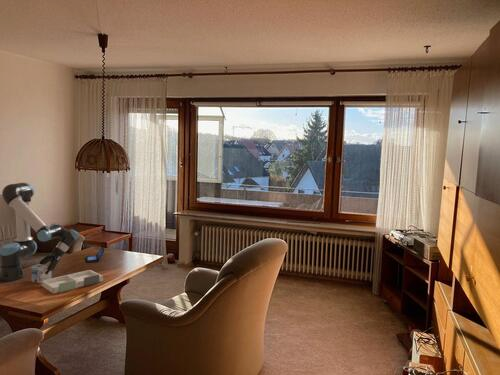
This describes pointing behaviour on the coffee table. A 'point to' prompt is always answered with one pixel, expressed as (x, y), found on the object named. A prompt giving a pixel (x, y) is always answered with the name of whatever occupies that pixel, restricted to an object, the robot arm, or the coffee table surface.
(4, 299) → the coffee table surface
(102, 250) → the handheld game console
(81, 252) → the coffee table surface
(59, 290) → the tagged dock
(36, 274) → the light bulb box
